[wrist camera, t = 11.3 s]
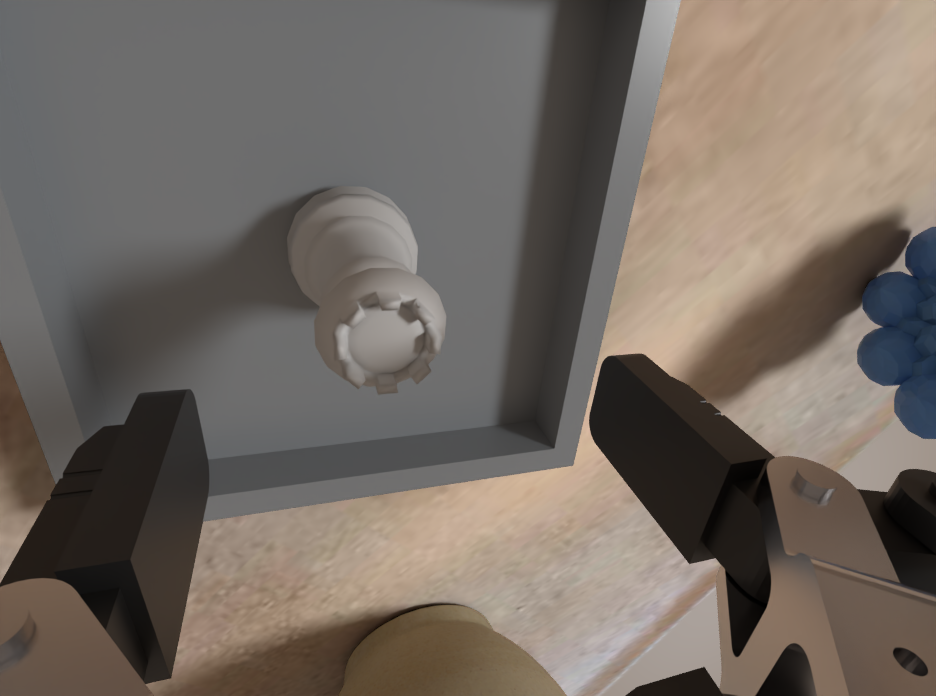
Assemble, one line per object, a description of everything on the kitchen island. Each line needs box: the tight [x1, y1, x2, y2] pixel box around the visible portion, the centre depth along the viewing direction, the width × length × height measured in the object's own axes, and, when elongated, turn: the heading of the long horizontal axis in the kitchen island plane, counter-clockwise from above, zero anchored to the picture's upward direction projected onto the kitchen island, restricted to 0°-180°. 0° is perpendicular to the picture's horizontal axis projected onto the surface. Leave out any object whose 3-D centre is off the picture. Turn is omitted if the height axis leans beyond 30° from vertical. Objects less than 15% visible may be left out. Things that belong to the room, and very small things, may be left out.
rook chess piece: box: [287, 186, 446, 395], centre depth 15 cm, size 4×4×8 cm
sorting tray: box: [0, 0, 681, 521], centre depth 18 cm, size 20×20×3 cm
